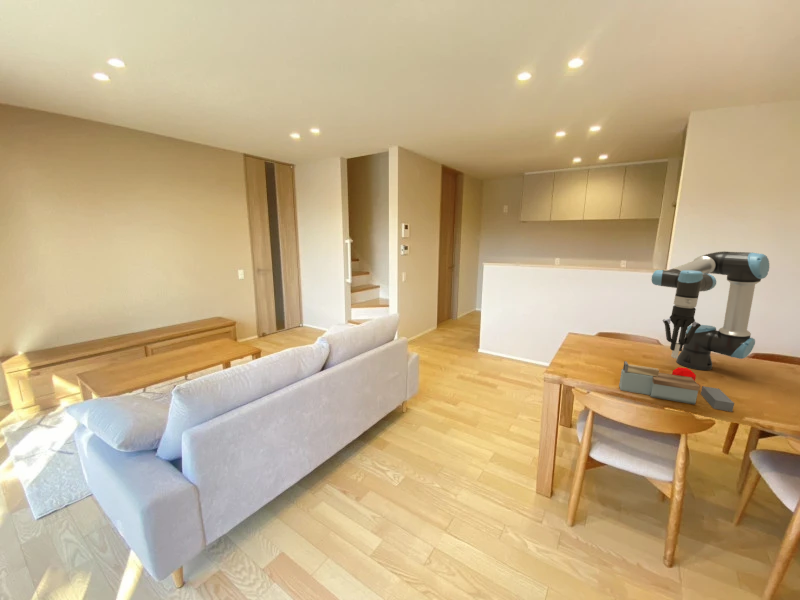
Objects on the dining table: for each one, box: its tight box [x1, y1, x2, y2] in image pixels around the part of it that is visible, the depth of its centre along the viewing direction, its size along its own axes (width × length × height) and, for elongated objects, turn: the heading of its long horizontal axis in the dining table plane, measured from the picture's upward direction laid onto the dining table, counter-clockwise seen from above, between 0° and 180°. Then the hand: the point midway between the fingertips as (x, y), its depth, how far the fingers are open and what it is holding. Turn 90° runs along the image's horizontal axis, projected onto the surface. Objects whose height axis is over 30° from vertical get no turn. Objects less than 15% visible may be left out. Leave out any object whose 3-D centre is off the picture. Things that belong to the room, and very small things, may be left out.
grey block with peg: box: [618, 360, 653, 396], centre depth 155 cm, size 4×12×13 cm, turn 66°
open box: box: [649, 381, 699, 405], centre depth 150 cm, size 8×16×7 cm, turn 66°
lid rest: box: [700, 385, 735, 413], centre depth 145 cm, size 14×6×4 cm, turn 156°
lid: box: [652, 372, 701, 392], centre depth 149 cm, size 10×16×2 cm, turn 66°
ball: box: [671, 366, 697, 382], centre depth 163 cm, size 8×8×8 cm
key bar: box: [625, 363, 660, 377], centre depth 153 cm, size 2×12×3 cm, turn 66°
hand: (674, 357), depth 147 cm, fingers closed
